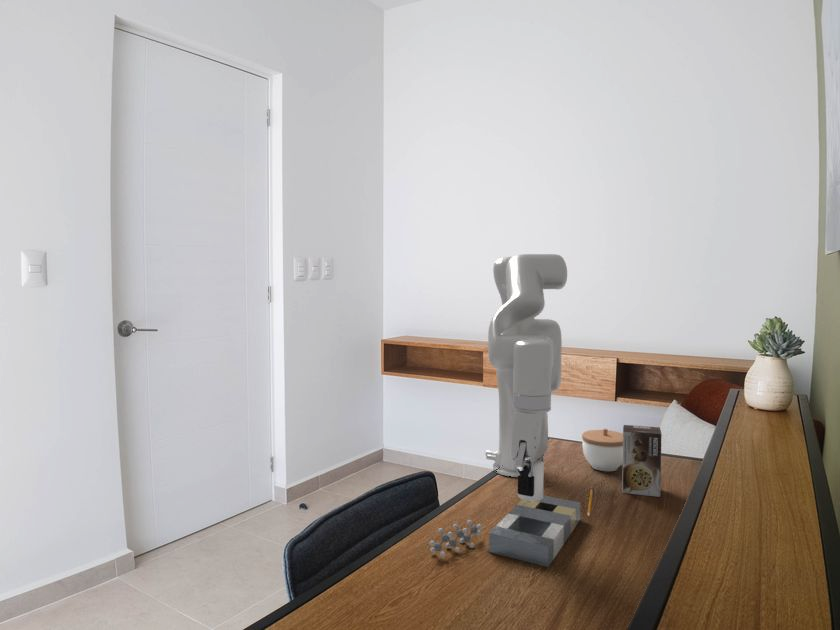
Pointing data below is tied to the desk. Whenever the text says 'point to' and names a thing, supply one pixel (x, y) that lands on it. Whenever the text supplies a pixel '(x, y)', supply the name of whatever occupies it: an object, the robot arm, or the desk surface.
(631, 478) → the coffee box
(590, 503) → the pencil
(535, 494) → the white capsule cylinder
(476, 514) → the desk surface
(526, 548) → the socket block
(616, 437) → the lidded bowl
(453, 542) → the molecular model
